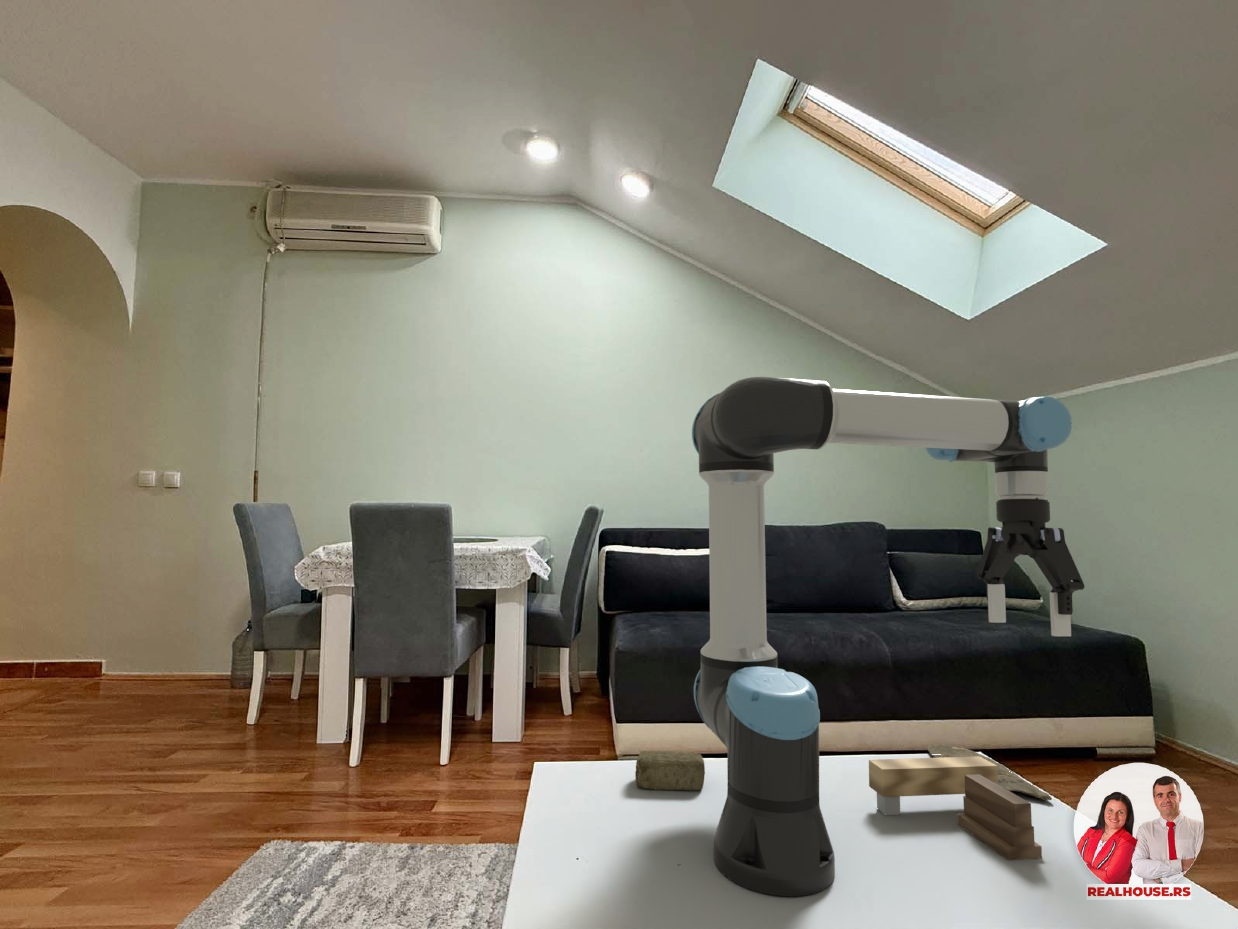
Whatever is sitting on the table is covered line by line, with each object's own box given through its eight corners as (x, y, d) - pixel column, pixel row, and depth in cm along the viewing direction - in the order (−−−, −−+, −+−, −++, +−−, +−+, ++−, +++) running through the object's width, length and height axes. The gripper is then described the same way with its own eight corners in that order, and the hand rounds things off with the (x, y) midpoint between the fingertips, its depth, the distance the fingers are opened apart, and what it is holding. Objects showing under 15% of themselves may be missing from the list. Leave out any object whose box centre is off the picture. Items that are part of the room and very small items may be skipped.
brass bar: (882, 797, 96) (882, 769, 96) (869, 786, 100) (868, 759, 100) (998, 792, 98) (997, 765, 99) (980, 782, 102) (979, 756, 103)
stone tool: (1057, 807, 102) (967, 752, 126) (1056, 788, 102) (966, 737, 127) (989, 807, 101) (912, 752, 126) (989, 788, 102) (912, 737, 126)
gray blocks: (885, 815, 97) (885, 794, 97) (877, 808, 99) (876, 788, 99) (990, 811, 99) (989, 790, 99) (980, 804, 101) (979, 784, 101)
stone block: (706, 793, 104) (706, 761, 104) (635, 792, 104) (635, 760, 104) (701, 779, 109) (701, 749, 110) (634, 778, 110) (635, 748, 110)
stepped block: (1007, 860, 84) (1005, 804, 85) (957, 824, 94) (956, 775, 95) (1041, 858, 85) (1039, 803, 85) (989, 823, 95) (987, 774, 95)
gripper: (1109, 496, 94) (1116, 642, 92) (989, 501, 119) (993, 617, 117) (1063, 494, 93) (1070, 643, 91) (952, 500, 118) (956, 617, 116)
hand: (1027, 629), depth 104 cm, fingers open, 13 cm apart
